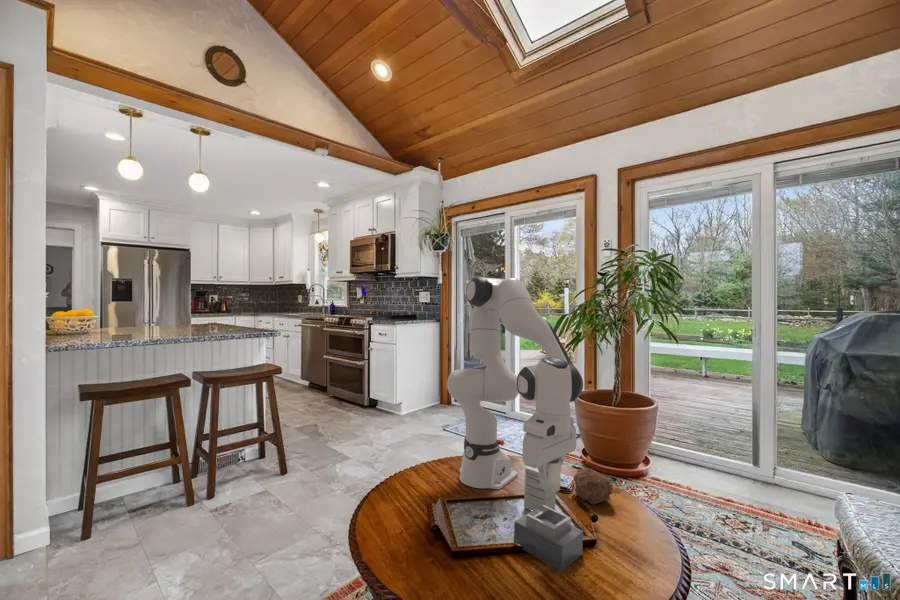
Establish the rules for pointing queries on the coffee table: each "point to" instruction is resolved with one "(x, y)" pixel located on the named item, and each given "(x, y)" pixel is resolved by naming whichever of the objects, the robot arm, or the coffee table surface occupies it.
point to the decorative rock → (592, 486)
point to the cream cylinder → (552, 476)
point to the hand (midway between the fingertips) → (550, 475)
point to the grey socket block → (549, 537)
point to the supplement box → (536, 491)
